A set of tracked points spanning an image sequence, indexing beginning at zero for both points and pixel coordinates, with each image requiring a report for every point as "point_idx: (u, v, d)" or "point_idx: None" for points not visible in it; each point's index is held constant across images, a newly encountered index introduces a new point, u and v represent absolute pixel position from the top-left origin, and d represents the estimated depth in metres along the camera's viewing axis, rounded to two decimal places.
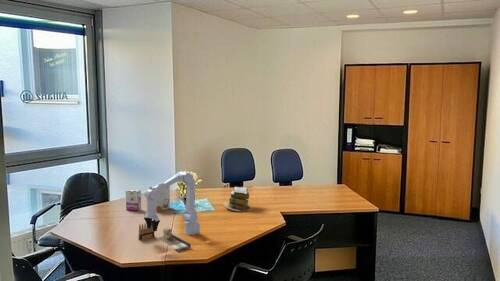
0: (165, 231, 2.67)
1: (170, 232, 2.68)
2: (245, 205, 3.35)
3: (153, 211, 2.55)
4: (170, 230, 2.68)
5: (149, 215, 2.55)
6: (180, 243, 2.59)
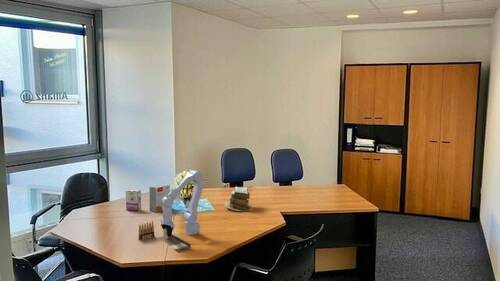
0: (165, 231, 2.67)
1: None
2: (246, 205, 3.35)
3: (169, 218, 2.65)
4: None
5: (165, 222, 2.65)
6: (180, 243, 2.59)
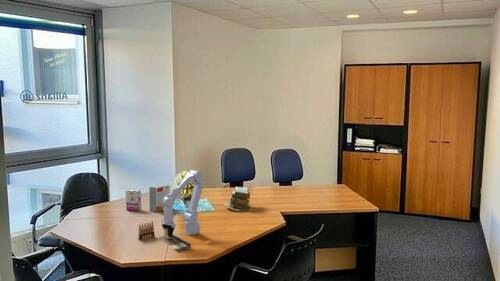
0: (166, 231, 2.66)
1: None
2: (246, 205, 3.35)
3: (170, 218, 2.65)
4: None
5: (166, 222, 2.64)
6: (180, 243, 2.59)
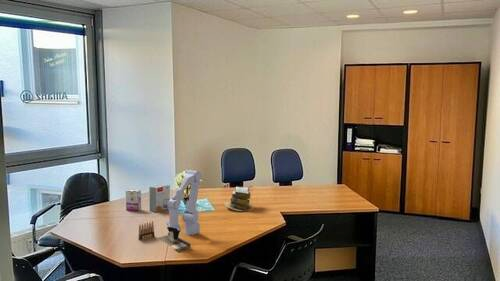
0: (171, 234, 2.61)
1: None
2: (246, 205, 3.36)
3: (175, 220, 2.59)
4: None
5: (171, 224, 2.59)
6: (180, 243, 2.59)
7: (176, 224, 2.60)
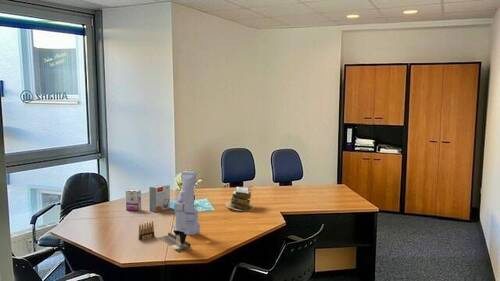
0: (178, 238, 2.54)
1: None
2: (247, 205, 3.36)
3: (182, 224, 2.53)
4: None
5: (178, 228, 2.53)
6: None
7: (183, 227, 2.54)
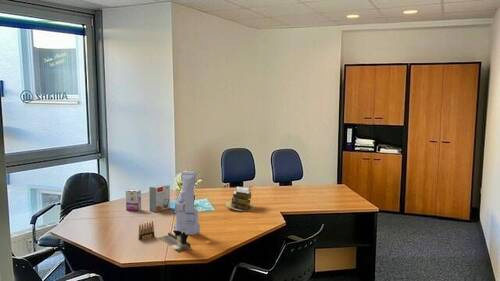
0: (179, 238, 2.54)
1: None
2: (247, 205, 3.36)
3: (183, 224, 2.53)
4: None
5: (179, 228, 2.52)
6: None
7: (183, 228, 2.53)
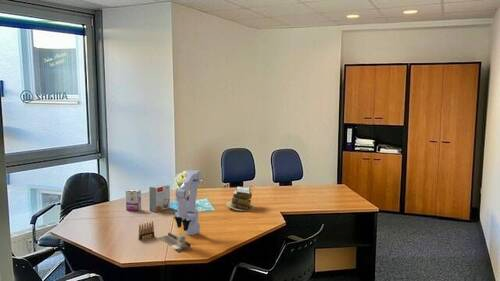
0: (179, 238, 2.54)
1: (184, 239, 2.55)
2: (248, 205, 3.36)
3: (184, 210, 2.58)
4: (184, 237, 2.55)
5: (180, 214, 2.58)
6: None
7: (185, 214, 2.59)
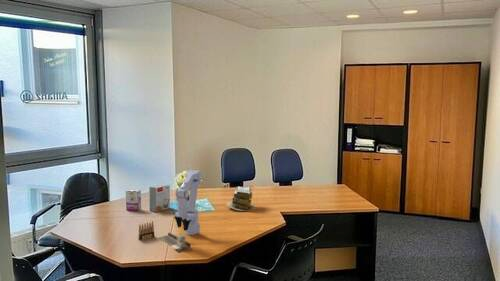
0: (179, 238, 2.54)
1: (184, 239, 2.55)
2: (248, 205, 3.36)
3: (184, 210, 2.58)
4: (184, 237, 2.55)
5: (180, 214, 2.58)
6: None
7: (185, 214, 2.59)
